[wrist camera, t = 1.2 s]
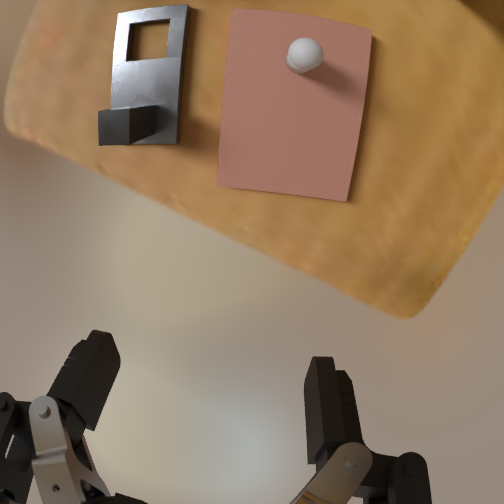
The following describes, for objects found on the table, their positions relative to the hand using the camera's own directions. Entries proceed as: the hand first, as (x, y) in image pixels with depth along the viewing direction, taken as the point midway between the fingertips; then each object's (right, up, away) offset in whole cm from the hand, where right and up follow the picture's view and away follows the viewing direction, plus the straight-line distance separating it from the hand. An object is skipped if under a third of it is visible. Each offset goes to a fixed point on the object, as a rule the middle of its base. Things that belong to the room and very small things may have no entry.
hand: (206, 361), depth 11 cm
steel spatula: (-9, +22, +13) cm, 27 cm away
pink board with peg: (+6, +18, +14) cm, 24 cm away
